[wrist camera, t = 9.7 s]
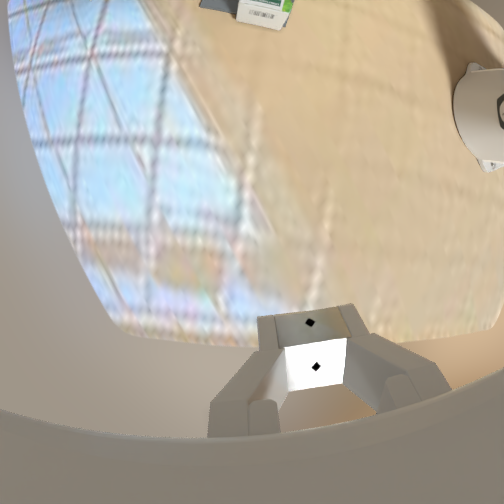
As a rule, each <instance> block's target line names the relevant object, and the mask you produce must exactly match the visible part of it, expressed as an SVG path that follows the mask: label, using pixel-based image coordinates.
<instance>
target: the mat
mask: <svg viewBox="0 0 504 504" xmlns="http://www.w3.org/2000/svg"><path fill="white" fill-rule="evenodd" d="M238 2H239V0H202V2H201V4H200V7H201V8H207V9H213V10H218V11H223V12H228V13H233V14H237V9H238ZM293 2H294V0H293ZM288 17H289V16H288ZM287 20H288V18H287V19H286V21H285V23H284V24H283V26H282V27H285V26H286V23H287Z"/></svg>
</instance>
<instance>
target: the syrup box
mask: <svg viewBox="0 0 504 504" xmlns="http://www.w3.org/2000/svg"><path fill="white" fill-rule="evenodd" d="M292 5H293V0H239V2H238V9H237V15H236V21H238V22H243V23H248V24H253V25H258V26H262V27H267V28H271V29H275V30H280V29H281V28H282V26H283V24H284V23H285V21H286V19H287V18H288V16H289V14H290V12H291V9H292Z"/></svg>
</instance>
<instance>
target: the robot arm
mask: <svg viewBox="0 0 504 504" xmlns="http://www.w3.org/2000/svg"><path fill="white" fill-rule="evenodd" d="M453 106H454V116H455V121H456V125H457V128H458V131H459V134H460V136H461V138H462V140H463V142H464V143H465V145H466V147H467V148H468V149H469V150H470V151H471V152H472V153H473V154H474V155H475V157H476V158H477V159H478V162H479V164H480V166H481V168H482V170H483V171H484V172H492V171H494V170H496V169H499V168H501V167H504V68H498V69H486V68H484V67H482V66H481V65H479V64H477V63H469V64H468V67H467V71H466V74H465V75H464V77H462V78H461V79H460V81H459V82H458V84H457V86H456V89H455V92H454V100H453ZM257 326H258V340H259V351H256V352H254V353H253V354H252V355H251V356H250V358H249V359H248V360H247V361H246V362H245V363H244V365H243V366H242V367H241V368H240V369H239V371H238V372H237V373H236V374H235V375H234V377H232V379H231V380H230V381H229V382H228V383H227V384H226V386H225V387H224V388H223V389H222V390H221V391H220V392H219V393H218V395H217V396H216V397H215V398H214V399H213V400H212V401H211V403H210V412H209V424H208V436H207V438H171V437H150V436H137V435H126V434H116V433H108V432H100V431H93V430H86V429H81V428H75V427H70V426H65V425H59V424H55V423H50V422H46V421H41V420H38V419H33V418H30V417H26V416H22V415H19V414H15V413H12V412H8V411H5V410H2V409H0V504H504V367H503V368H501V369H499V370H497V371H495V372H493V373H491V374H489V375H487V376H484V377H482V378H480V379H478V380H475V381H473V382H471V383H469V384H466V385H464V386H461V387H459V388H456V389H454V390H452V389H451V388H450V386H449V384H448V382H447V381H446V379H445V378H444V376H443V374H442V373H441V371H440V370H439V368H438V367H437V365H436V363H434V362H432V361H430V360H428V359H426V358H424V357H422V356H420V355H418V354H416V353H414V352H411V351H409V350H407V349H405V348H403V347H401V346H399V345H397V344H395V343H393V342H391V341H389V340H387V339H385V338H383V337H381V336H379V335H377V334H375V333H372V334H370V333H369V331H368V329H367V328H366V326H365V324H364V322H363V320H362V319H361V317H360V315H359V313H358V311H357V310H356V308H355V306H354V304H352V303H350V304H345V305H340V306H336V307H331V308H325V309H319V310H312V311H303V312H294V313H285V314H276V315H267V316H259V317H257ZM338 383H343V385H345V386H346V387H347V388H348V389H349V390H351V391H352V392H353V393H354V394H355V395H357V396H358V397H359V398H360V399H362V400H363V401H364V402H365V403H367V404H368V405H369V406H371V408H373V409H374V410H375V411H376V412H377V413H376V415H373V416H370V417H366V418H361V419H357V420H353V421H348V422H343V423H338V424H333V425H328V426H323V427H317V428H311V429H305V430H298V431H290V432H283V433H281V432H280V424H279V416H278V410H279V409H280V407H281V405H282V403H283V402H284V400H285V398H286V396H287V394H288V392H289V391H295V390H301V389H306V388H312V387H318V386H325V385H331V384H338Z"/></svg>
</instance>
